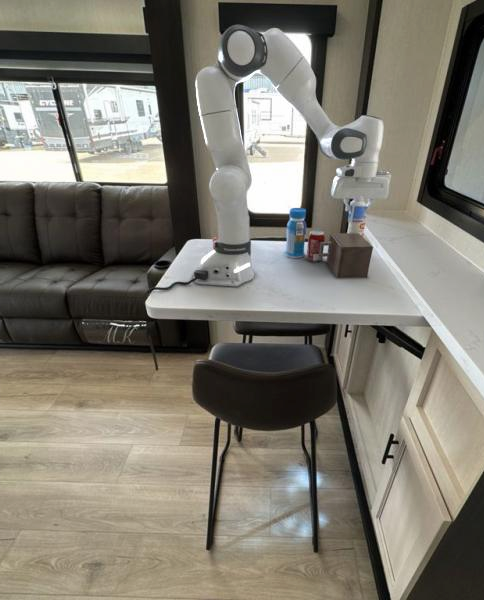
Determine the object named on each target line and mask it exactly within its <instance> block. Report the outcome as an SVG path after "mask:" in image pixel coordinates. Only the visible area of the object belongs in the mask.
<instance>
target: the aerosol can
mask: <svg viewBox="0 0 484 600" xmlns="http://www.w3.org/2000/svg"><path fill="white" fill-rule="evenodd" d="M366 220H367V216H366V215H365V214H364V217H363V222H362V223H361V224H352V223H349V222H348V227H347V232H346V233H359V234H360V235H361V236H362V237H363V238H364V232H365V228H366V227H365V226H366Z"/></svg>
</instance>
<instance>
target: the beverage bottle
mask: <svg viewBox="0 0 484 600" xmlns="http://www.w3.org/2000/svg"><path fill="white" fill-rule="evenodd" d="M288 216H289V220H288V221H287V224H286V244H285V255H286V256H287V257H288V258H292V259H299V258H302V257H304V255H305V243H306V242H305V241H306V235H307V230H306V228H307V223H306V220H305V219H306V216H307V209H306V208H303V207H291V208H290V209H289V215H288Z"/></svg>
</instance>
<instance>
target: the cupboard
mask: <svg viewBox="0 0 484 600" xmlns="http://www.w3.org/2000/svg"><path fill="white" fill-rule="evenodd" d="M332 234H333V236H334V237H335V238H336V239H337V240H338V242H339V243H340V244H341V245H342V246H343V252H342V259H341V265H340V272H339V278H338V279H352V278H353V279H356V278H357V279H360V278H361V279H363V278H365V279H366V278H368V274H369V271H370V270H369V268H370V265H371V260H372V255H373V250H374V246H373V245H372V244H371V243H370V242H369V241H368V240H367V239H365V237H364V236H363V237H362V236H361V235H360V234H359V233H347V232H343V233H339V232H338V233H337V232H335V233H334V232H333V233H332Z"/></svg>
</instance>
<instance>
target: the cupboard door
mask: <svg viewBox="0 0 484 600" xmlns="http://www.w3.org/2000/svg"><path fill="white" fill-rule="evenodd" d="M323 246H324V247H325V246H327V247H328V248H327V252H323V253H322V248H323ZM342 252H343V246H342V245H341V244H340V243H339V242H338V240H337V239H336V238H335V237H334V236H333V233H329V239H328V241H324V242H320V248H319V257H323V258H325V257H326V264H327V265H328V266H329V268H330V270H331V271H332V274H334V276H335V278H336V279H340V278H339V272H340V265H341V259H342Z"/></svg>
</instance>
